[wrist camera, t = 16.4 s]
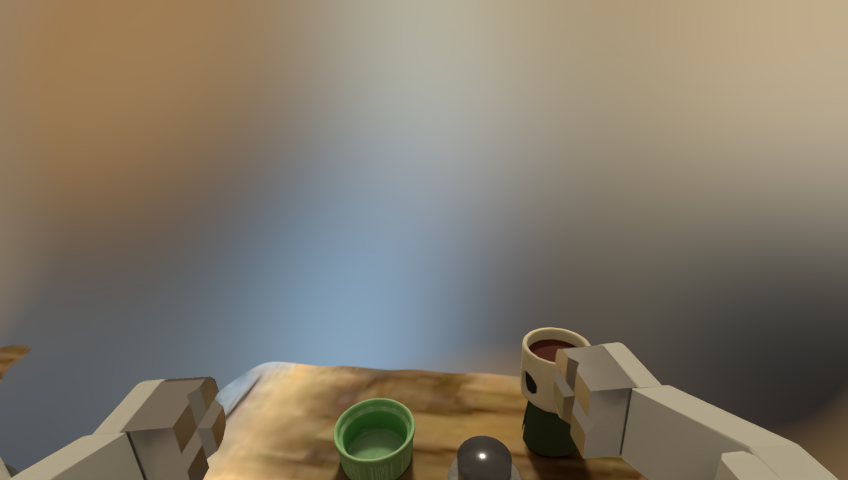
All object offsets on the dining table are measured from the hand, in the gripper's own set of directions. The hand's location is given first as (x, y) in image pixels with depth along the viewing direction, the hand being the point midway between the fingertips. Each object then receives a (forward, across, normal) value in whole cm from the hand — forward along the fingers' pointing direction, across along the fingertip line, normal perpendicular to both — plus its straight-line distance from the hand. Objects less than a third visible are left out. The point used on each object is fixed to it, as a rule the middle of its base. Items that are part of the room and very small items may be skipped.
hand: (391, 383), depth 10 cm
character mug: (+27, +16, -32) cm, 45 cm away
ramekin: (+27, -4, -32) cm, 42 cm away
